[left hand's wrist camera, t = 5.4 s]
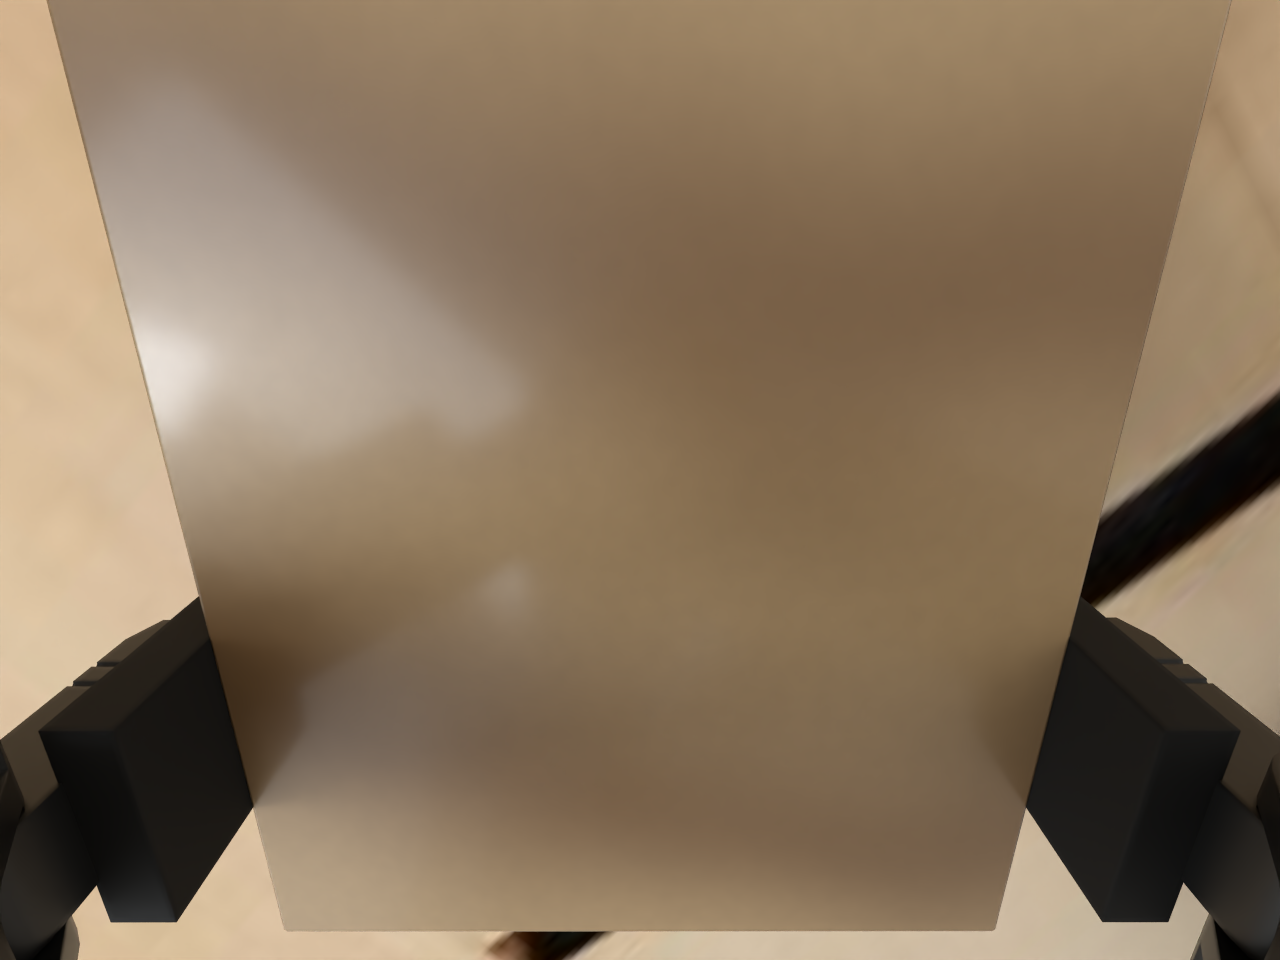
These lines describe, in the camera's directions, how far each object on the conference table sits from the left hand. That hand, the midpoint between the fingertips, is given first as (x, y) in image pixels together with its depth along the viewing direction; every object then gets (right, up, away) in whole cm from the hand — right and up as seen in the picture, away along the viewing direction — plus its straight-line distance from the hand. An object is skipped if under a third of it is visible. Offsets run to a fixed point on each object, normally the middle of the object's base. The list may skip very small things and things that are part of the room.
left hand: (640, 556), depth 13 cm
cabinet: (0, +8, +3) cm, 8 cm away
